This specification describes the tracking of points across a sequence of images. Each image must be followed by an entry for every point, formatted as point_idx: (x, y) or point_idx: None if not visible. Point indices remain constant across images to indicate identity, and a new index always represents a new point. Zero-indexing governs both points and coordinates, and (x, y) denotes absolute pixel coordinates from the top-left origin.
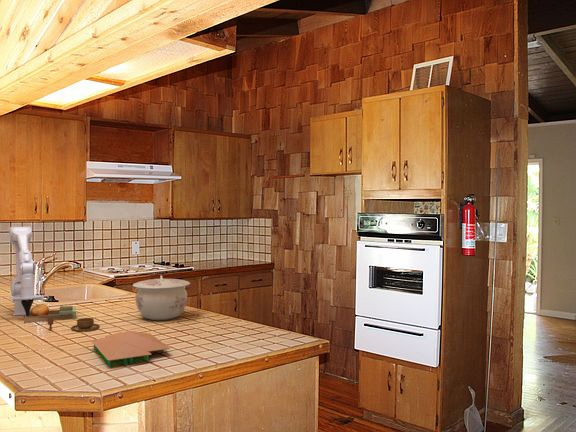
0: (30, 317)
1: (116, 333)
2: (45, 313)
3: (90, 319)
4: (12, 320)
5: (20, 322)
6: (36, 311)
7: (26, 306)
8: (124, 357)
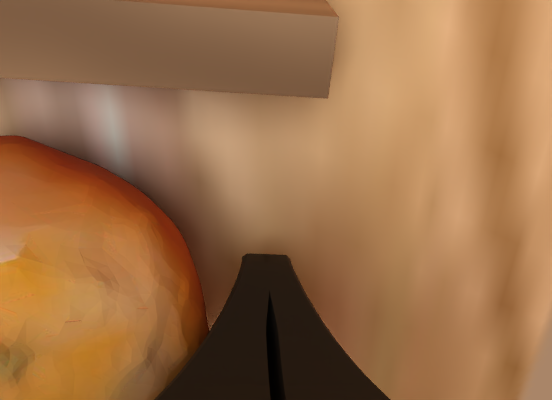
0: (200, 3)
1: None
2: None
3: None
4: (464, 273)
5: (383, 71)
6: (64, 219)
7: (294, 378)
8: None
